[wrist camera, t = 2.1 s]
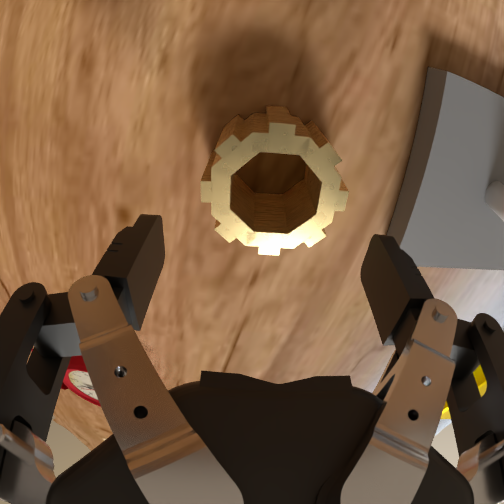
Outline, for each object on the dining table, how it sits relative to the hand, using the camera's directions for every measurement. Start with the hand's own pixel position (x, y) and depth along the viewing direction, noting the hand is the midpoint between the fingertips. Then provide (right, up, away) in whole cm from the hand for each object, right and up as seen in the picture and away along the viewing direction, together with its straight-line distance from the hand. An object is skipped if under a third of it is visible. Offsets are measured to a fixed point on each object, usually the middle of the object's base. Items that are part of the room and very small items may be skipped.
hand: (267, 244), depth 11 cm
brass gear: (0, +4, +5) cm, 6 cm away
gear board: (+20, +4, +5) cm, 21 cm away
